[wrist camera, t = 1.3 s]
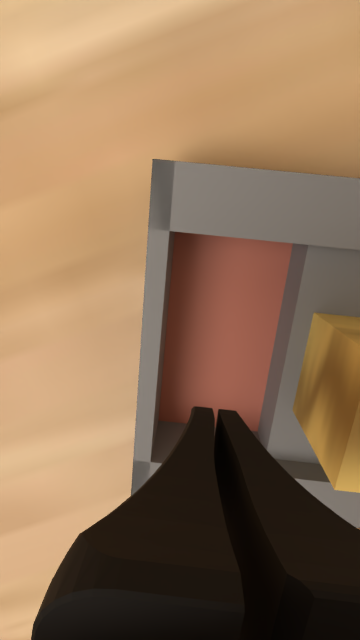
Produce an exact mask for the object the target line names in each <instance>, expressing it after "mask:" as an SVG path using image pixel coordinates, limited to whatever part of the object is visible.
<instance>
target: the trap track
mask: <svg viewBox="0 0 360 640" xmlns="http://www.w3.org/2000/svg"><path fill="white" fill-rule="evenodd" d="M314 313H323V314H332V315H342V316H352V317H360V178H349V177H339V176H328V175H318V174H307V173H297V172H286V171H276V170H265V169H254V168H244V167H233V166H223V165H212V164H202V163H191V162H181V161H170V160H160V159H153V163H152V178H151V194H150V209H149V225H148V240H147V256H146V271H145V287H144V302H143V318H142V333H141V349H140V364H139V380H138V395H137V411H136V426H135V442H134V457H133V473H132V488H131V496H132V495H133V494H134V493H135V492H136V491H137V490H138V489H139V488H140V487H141V486H142V485H143V484H144V483H145V482H146V481H147V480H148V479H149V478H150V477H151V476H152V475H153V474H154V473H155V472H156V470H157V469H158V468H159V467H160V466H161V464H162V463H163V462H164V461H165V459H166V458H167V457H168V455H169V454H170V452H171V451H172V449H173V448H174V446H175V445H176V443H177V442H178V440H179V438H180V437H181V435H182V433H183V431H184V429H185V427H186V425H187V423H188V420H189V418H190V414H191V409H192V408H193V407H194V406H198V407H207V408H212V409H213V412H214V416H215V429H216V422H217V415H218V409H225V410H234V411H237V413H238V414H239V415H240V417H241V418H242V419H243V421H244V422H245V423H246V425H247V426H248V427H249V429H250V430H251V431H252V433H253V434H254V435H255V436H256V438H257V439H258V440H259V441H260V443H261V444H262V445H263V446H264V448H265V449H266V450H267V451H268V452H269V453H270V454H271V456H272V457H273V458H274V459H275V460H276V461H277V462H278V463H279V464H280V465H281V466H282V467H283V468H284V469H285V470H286V471H287V472H288V473H289V474H290V475H291V476H292V477H293V478H294V479H295V480H296V481H297V482H298V483H300V484H301V485H302V486H303V487H304V488H305V489H306V490H307V491H308V492H310V493H311V494H312V495H313V496H314V497H316V498H317V499H318V500H319V501H321V502H322V503H323V504H324V505H326V506H327V507H328V508H330V509H331V510H332V511H334V512H335V513H336V514H337V515H339V516H340V517H342V518H343V519H344V520H346V521H347V522H349V523H350V524H351V525H353V526H354V527H356V528H360V493H357V492H348V491H339V490H334V488H333V486H332V485H331V483H330V481H329V479H328V477H327V475H326V473H325V471H324V469H323V467H322V466H321V464H320V462H319V460H318V458H317V456H316V454H315V452H314V450H313V449H312V447H311V445H310V443H309V441H308V439H307V437H306V435H305V433H304V431H303V430H302V428H301V426H300V424H299V422H298V420H297V418H296V416H295V414H294V412H293V411H292V410H293V405H294V401H295V396H296V392H297V387H298V382H299V378H300V373H301V369H302V364H303V360H304V355H305V350H306V346H307V341H308V337H309V332H310V328H311V323H312V318H313V314H314ZM214 436H215V432H214Z"/></svg>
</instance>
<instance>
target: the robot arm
mask: <svg viewBox="0 0 360 640" xmlns="http://www.w3.org/2000/svg"><path fill="white" fill-rule="evenodd" d="M214 432H215V436H214ZM31 640H360V530H359V529H357V528H356V527H354V526H353V525H351V524H350V523H349V522H347V521H346V520H344V519H343V518H342V517H340V516H339V515H337V514H336V513H335V512H334V511H332V510H331V509H330V508H328V507H327V506H326V505H324V504H323V503H322V502H321V501H319V500H318V499H317V498H316V497H314V496H313V495H312V494H311V493H310V492H308V491H307V490H306V489H305V488H304V487H303V486H302V485H301V484H300V483H298V482H297V481H296V480H295V479H294V478H293V477H292V476H291V475H290V474H289V473H288V472H287V471H286V470H285V469H284V468H283V467H282V466H281V465H280V464H279V463H278V462H277V461H276V460H275V459H274V458H273V457H272V456H271V454H270V453H269V452H268V451H267V450H266V449H265V448H264V446H263V445H262V444H261V443H260V441H259V440H258V439H257V438H256V436H255V435H254V434H253V433H252V431H251V430H250V429H249V427H248V426H247V425H246V423H245V422H244V421H243V419H242V418H241V417H240V415H239V414H238V413H237V411H234V410H225V409H218V415H217V422H216V429H215V416H214V412H213V409H212V408H207V407H198V406H194V407H193V408H192V409H191V414H190V418H189V420H188V423H187V425H186V427H185V429H184V431H183V433H182V435H181V437H180V438H179V440H178V442H177V443H176V445H175V446H174V448H173V449H172V451H171V452H170V454H169V455H168V457H167V458H166V459H165V461H164V462H163V463H162V464H161V466H160V467H159V468H158V469H157V470H156V472H155V473H154V474H153V475H152V476H151V477H150V478H149V479H148V480H147V481H146V482H145V483H144V484H143V485H142V486H141V487H140V488H139V489H138V490H137V491H136V492H135V493H134V494H133V495H132V496H130V497H129V498H128V499H127V500H126V501H124V502H123V503H122V504H121V505H120V506H119V507H117V508H116V509H115V510H114V511H112V512H111V513H110V514H108V515H107V516H106V517H104V518H103V519H101V520H100V521H98V522H97V523H95V524H94V525H92V526H91V527H89V528H88V529H87V530H85V531H84V532H82V533H80V534H79V536H78V537H77V538H76V540H75V542H74V543H73V545H72V546H71V548H70V549H69V551H68V552H67V554H66V556H65V558H64V559H63V561H62V563H61V564H60V566H59V568H58V570H57V572H56V574H55V576H54V577H53V579H52V581H51V583H50V585H49V587H48V590H47V592H46V595H45V597H44V600H43V602H42V604H41V607H40V609H39V612H38V614H37V617H36V619H35V621H34V624H33V630H32V637H31Z"/></svg>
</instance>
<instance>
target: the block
mask: <svg viewBox="0 0 360 640" xmlns="http://www.w3.org/2000/svg"><path fill="white" fill-rule="evenodd" d="M292 411H293V412H294V414H295V416H296V418H297V420H298V422H299V424H300V426H301V428H302V430H303V431H304V433H305V435H306V437H307V439H308V441H309V443H310V445H311V447H312V449H313V450H314V452H315V454H316V456H317V458H318V460H319V462H320V464H321V466H322V467H323V469H324V471H325V473H326V475H327V477H328V479H329V481H330V483H331V485H332V486H333V488H334V490H339V491H348V492H357V493H360V317H352V316H342V315H332V314H323V313H314V314H313V318H312V323H311V328H310V332H309V337H308V341H307V346H306V350H305V355H304V360H303V364H302V369H301V373H300V378H299V382H298V387H297V392H296V396H295V401H294V405H293V410H292Z"/></svg>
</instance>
